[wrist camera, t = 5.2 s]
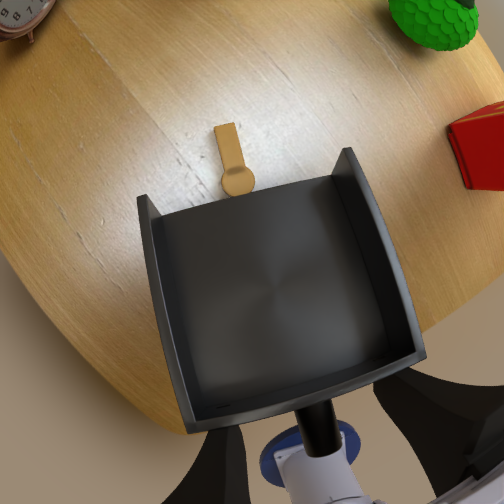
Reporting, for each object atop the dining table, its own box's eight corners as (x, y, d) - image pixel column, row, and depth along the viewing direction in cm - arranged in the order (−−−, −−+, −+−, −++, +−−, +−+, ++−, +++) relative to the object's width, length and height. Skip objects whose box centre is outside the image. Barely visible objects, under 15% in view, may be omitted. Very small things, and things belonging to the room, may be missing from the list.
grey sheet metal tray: (407, 401, 13) (438, 411, 10) (215, 462, 12) (207, 489, 9) (336, 177, 16) (351, 146, 13) (155, 221, 15) (135, 196, 12)
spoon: (257, 193, 21) (258, 193, 20) (226, 201, 21) (226, 201, 20) (239, 122, 20) (239, 120, 19) (208, 130, 20) (207, 128, 19)
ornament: (419, -4, 19) (474, -45, 9) (453, 62, 20) (523, 33, 10) (357, -9, 18) (410, -69, 8) (395, 64, 20) (471, 20, 10)
